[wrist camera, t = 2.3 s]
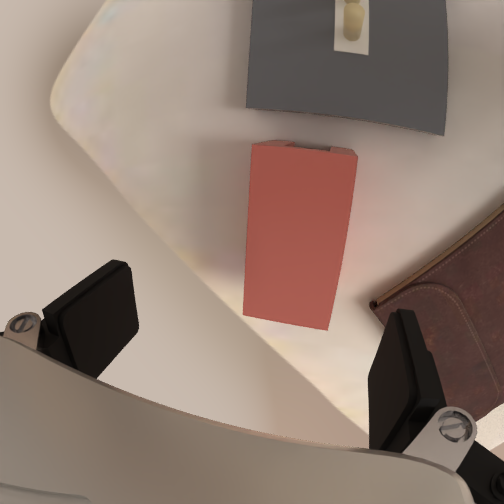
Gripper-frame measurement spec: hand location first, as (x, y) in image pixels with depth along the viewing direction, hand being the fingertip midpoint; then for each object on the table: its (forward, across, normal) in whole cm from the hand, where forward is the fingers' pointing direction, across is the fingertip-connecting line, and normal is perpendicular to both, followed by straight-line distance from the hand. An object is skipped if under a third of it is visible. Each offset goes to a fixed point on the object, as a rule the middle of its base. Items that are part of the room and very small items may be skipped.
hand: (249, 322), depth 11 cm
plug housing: (+12, -1, 0) cm, 12 cm away
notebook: (+13, -19, +7) cm, 24 cm away
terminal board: (+12, -3, -16) cm, 20 cm away
